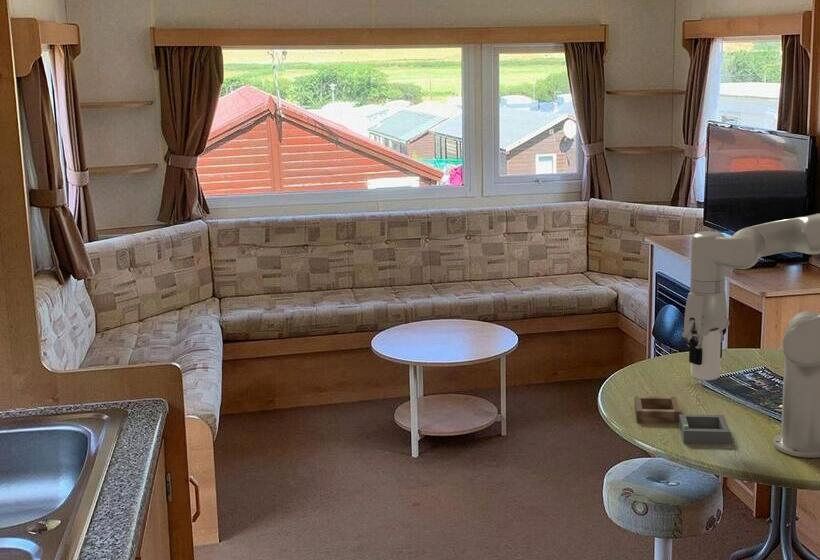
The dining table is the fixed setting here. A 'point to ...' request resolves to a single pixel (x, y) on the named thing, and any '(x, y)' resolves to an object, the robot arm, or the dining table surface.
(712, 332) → the can
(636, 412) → the brown square frame
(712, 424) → the gray square frame
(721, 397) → the dining table surface
